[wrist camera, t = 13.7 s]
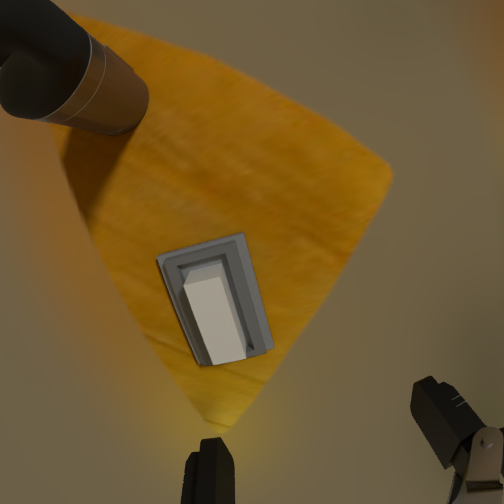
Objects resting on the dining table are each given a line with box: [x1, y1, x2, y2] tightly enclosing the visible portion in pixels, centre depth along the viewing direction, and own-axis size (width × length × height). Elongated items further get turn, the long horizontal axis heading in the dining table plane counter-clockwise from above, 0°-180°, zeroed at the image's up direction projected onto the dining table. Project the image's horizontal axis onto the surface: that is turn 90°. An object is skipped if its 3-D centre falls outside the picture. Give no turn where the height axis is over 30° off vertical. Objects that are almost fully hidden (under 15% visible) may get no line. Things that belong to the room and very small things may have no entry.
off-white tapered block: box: [183, 263, 246, 365], centre depth 37 cm, size 4×12×5 cm, turn 14°
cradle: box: [157, 232, 274, 366], centre depth 39 cm, size 12×18×2 cm, turn 14°
